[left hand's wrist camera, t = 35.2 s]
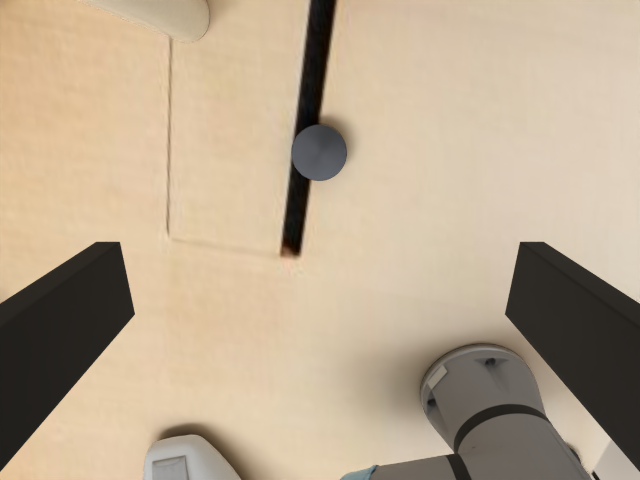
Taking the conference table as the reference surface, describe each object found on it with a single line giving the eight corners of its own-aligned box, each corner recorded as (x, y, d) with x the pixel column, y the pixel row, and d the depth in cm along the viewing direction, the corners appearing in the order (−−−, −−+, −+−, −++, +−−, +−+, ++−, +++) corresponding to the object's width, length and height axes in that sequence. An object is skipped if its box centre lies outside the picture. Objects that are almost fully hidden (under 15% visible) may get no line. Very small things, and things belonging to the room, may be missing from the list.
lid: (356, 148, 40) (358, 150, 38) (321, 187, 42) (322, 191, 40) (316, 111, 39) (315, 112, 37) (282, 154, 40) (280, 156, 38)
